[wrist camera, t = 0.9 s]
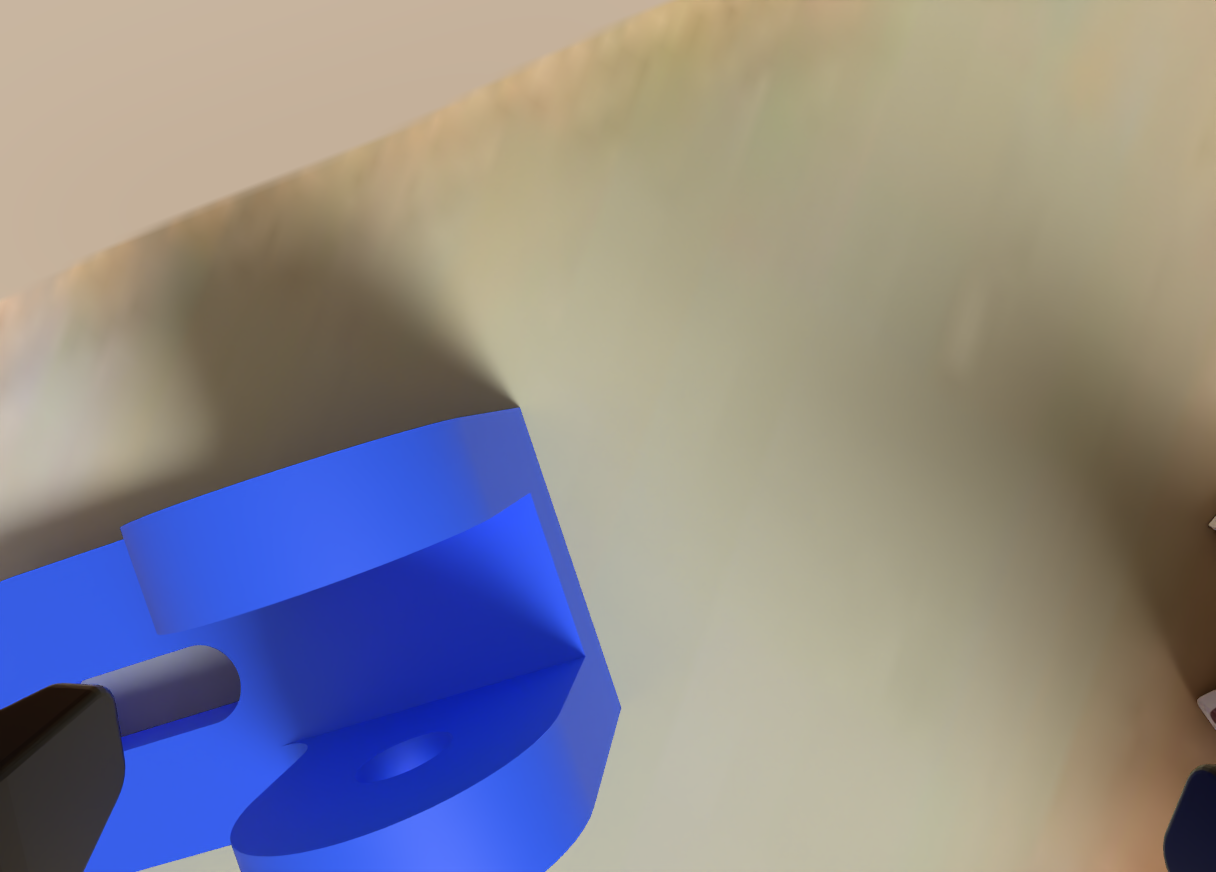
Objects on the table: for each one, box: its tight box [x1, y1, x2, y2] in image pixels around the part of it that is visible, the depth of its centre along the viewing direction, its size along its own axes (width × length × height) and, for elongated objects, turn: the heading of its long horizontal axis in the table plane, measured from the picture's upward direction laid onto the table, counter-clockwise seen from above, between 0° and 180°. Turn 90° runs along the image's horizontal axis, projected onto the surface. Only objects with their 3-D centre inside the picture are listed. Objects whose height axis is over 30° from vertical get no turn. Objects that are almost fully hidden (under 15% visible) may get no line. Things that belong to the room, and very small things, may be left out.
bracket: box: [0, 407, 621, 872], centre depth 20 cm, size 18×8×9 cm, turn 109°
